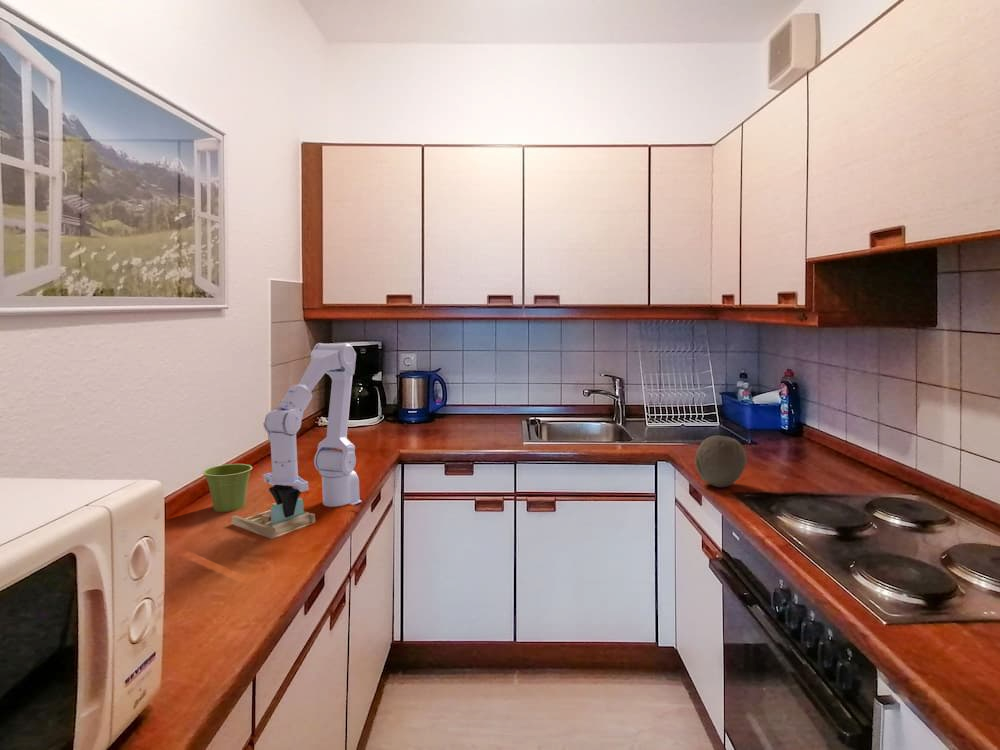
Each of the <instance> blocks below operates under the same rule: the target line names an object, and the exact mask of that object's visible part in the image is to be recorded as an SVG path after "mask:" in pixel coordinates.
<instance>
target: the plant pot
mask: <svg viewBox="0 0 1000 750" xmlns="http://www.w3.org/2000/svg"><path fill="white" fill-rule="evenodd" d="M252 470H253V466H252V465H251V464H245V463H229V464H220V465H215V466H212V467H208V468H206V469H205V470H203V471H202V474H203V475H204V476H205V479H206V482H207V484H208V488H209V492H210V493H209V494H210V496H211V501H212V506H213V510H214V511H215V512H220V513H225V512H226V513H228V512H233V511H237V510H242V509H243V508H244V507H245V506H246V500H247V492H248V485H249V479H250V475H251V471H252Z"/></svg>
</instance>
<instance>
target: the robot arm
mask: <svg viewBox="0 0 1000 750" xmlns="http://www.w3.org/2000/svg"><path fill="white" fill-rule="evenodd" d="M356 361H357V352H356V351H355V349H354V347H353V346H352V345H351V344H350V343H347V342H346V343H345V342H344V343H323V342H318V343H316V344H315V345H314V347H313V349H312V351H310V363H309V364H308V366H307V368H306V369H305V371H304V373H303V375H302V377H301V379H300V381H299V383H298V384H293V385H291V386H290V387H289V388H288V390H287V392H286V393H285V395H284V397H282V399H281V401H280V402H279V404H278V405H277V407H276V408H274V409H271V411H269V412H268V413H267V414H266V416H265V417H264V418H265V419H264V422H263V423H262V424H263V425H262V426H263V428H264V431H265V432H266V433H267V439H268V441H270V455H271V456H270V458H271V460H270V461H271V472H267V473H263V482H264V483H268V485H270V486H271V487H269V488H268V492H269V493H270V494H271V495H272V497H273V499H274V501H275V503H277V505H278V504H283V511H284V515H285V517H290V516H293V515H294V512H295V507H296V503H297V500H298V498H300V494H301V493H302V492H306V491H309V489H310V487H309V481H307V480H304V479H303V478H302V477H301V476H299V470H298V449H297V448H298V447H297V433H298V432H299V430H300V429H301V426H302V421H303V416H304V412H305V410H306V409H307V407H308V406H309V404H310V402H311V401H312V399H313V393H312V391H313V390H314V388H315V387H316V385H317V384H318V383H319V382H320V380H321V379H322V378H323V376H324V375H325V374H326V375H328V376H329V377H330V379H331V389H330V396H329V397H330V399H329V406H328V407H329V409H328V418H327V428H326V436H325V438H324V439H323V440H321V441H320V442H319V443H318V444H317V451H316V453H315V455H314V458H313V463H314V467H315V469H316V470H317V472H318V473H319V475H320V476H321V484H322V485H321V486H322V487H321V488H322V489H321V490H322V504H323V506H325V507H329V508H330V507H331V508H332V507H333V508H334V507H336V508H337V507H342V506H346V505H353V506H354V505H358V504H360V503H362V500H361V499H360V498H361V497H360V479H359V476H358V474H357V472H356V471H355V470H354V469H355V467H356V464H357V456H356V453H355V452H356V451H355V450H356V446H355V444H354V443H353V442H351V441H350V439H348V427H349V418H350V406H351V396H352V385H353V376H354V375H355V373H356V372H355V370H356ZM335 448H336V449H335Z"/></svg>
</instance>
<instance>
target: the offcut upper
mask: <svg viewBox="0 0 1000 750" xmlns="http://www.w3.org/2000/svg"><path fill="white" fill-rule="evenodd" d="M262 521H264V522H270V521H271V512H270V513H267V514H264V515H262Z"/></svg>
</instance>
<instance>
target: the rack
mask: <svg viewBox="0 0 1000 750" xmlns="http://www.w3.org/2000/svg"><path fill="white" fill-rule="evenodd" d="M275 505H277V503H276V502H273V503H271V507H272V506H275ZM303 511H304V510H303ZM270 512H271V509H269V510H266V511H262V512H260V513H257V514H254V515H251V516H248V517H246V518H245V517H242V516H239V515H236V514H235V515H231V525H232V526H235V527H238V528H241V529H244V530H247V531H248V532H252V533H256V534H257V535H261V536H263V537H266V538H269V539H275V538H278V537H280V536H284V535H287V534H289V533H292V532H293V531H296V530H299V529H301V528H304V527H307V526H309V525H312V524H315V523H316V514H315V513H311V512H308V511H304V514H303V515H300V516H297V517H294V518H292V519H289V520H286V521H283V522H280V523H277V524H275V525H271V521H270V522H267V523H265V525H263V524H260V523H259V521H262V515H264V514H267V513H270Z"/></svg>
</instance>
